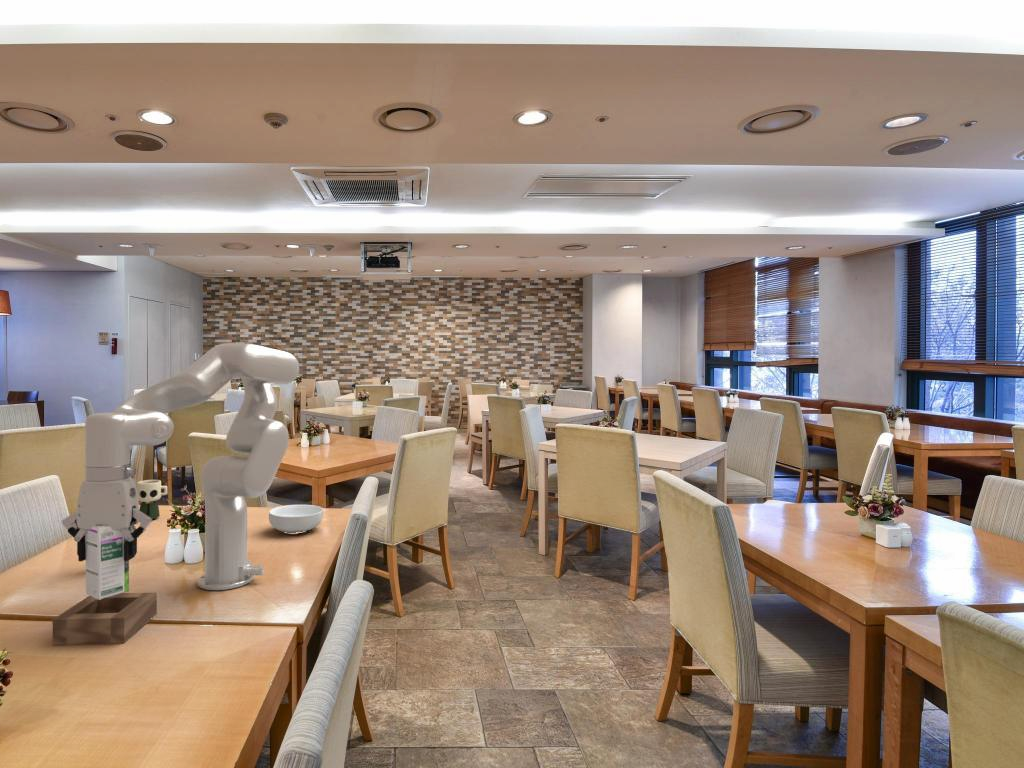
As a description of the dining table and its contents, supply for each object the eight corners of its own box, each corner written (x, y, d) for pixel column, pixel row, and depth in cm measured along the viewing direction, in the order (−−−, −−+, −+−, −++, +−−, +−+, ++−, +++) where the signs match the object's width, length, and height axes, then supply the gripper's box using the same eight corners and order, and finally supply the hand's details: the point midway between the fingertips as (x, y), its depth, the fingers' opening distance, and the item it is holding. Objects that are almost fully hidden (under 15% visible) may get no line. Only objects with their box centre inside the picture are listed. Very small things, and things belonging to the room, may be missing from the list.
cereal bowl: (312, 539, 186) (312, 517, 186) (259, 538, 186) (259, 515, 186) (329, 524, 203) (330, 504, 203) (281, 523, 203) (281, 503, 203)
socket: (156, 615, 129) (156, 592, 129) (124, 643, 116) (124, 617, 116) (92, 616, 128) (92, 593, 127) (52, 645, 115) (52, 619, 114)
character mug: (129, 523, 199) (129, 484, 199) (131, 518, 205) (131, 480, 205) (166, 520, 204) (166, 482, 204) (168, 515, 210) (168, 478, 210)
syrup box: (98, 600, 117) (98, 527, 117) (84, 594, 121) (84, 523, 120) (129, 591, 122) (130, 521, 122) (115, 585, 125) (115, 517, 125)
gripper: (161, 470, 125) (161, 552, 126) (73, 470, 124) (73, 553, 124) (143, 477, 118) (143, 564, 118) (49, 476, 116) (49, 565, 117)
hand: (107, 558), depth 121 cm, fingers closed on syrup box, 8 cm apart
